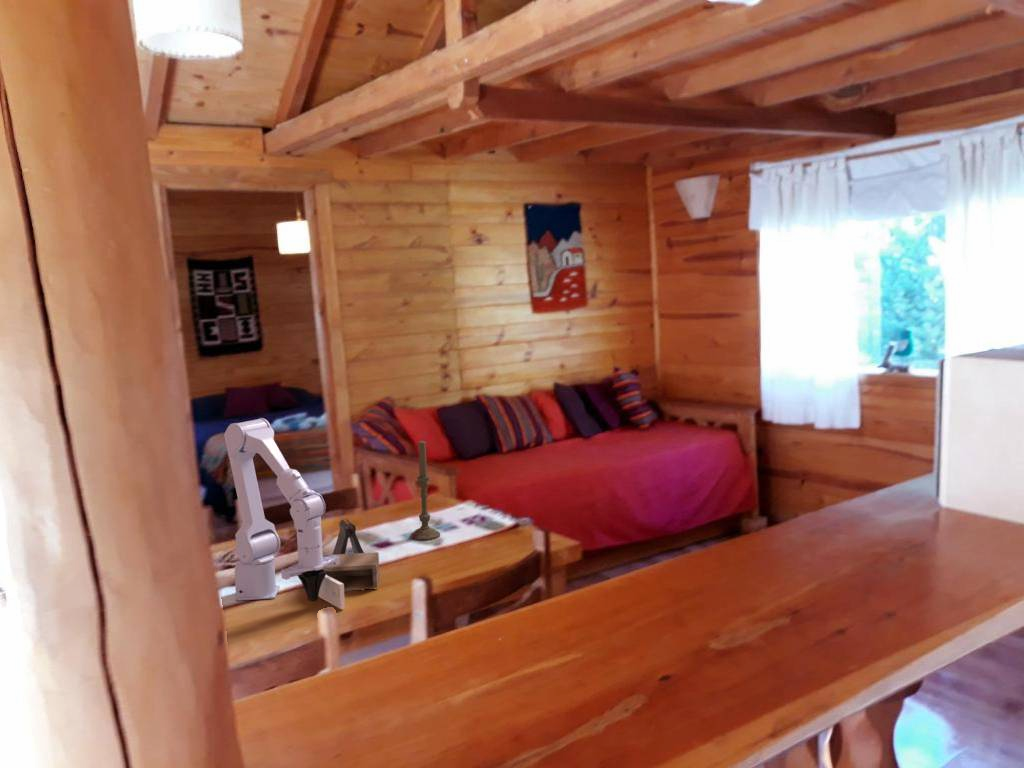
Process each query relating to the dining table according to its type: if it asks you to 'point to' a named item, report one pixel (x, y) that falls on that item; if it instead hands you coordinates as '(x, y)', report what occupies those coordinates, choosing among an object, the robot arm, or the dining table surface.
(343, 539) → the dark grey a-frame stand
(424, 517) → the candlestick holder
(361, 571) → the cabinet
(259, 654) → the dining table surface
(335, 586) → the door
